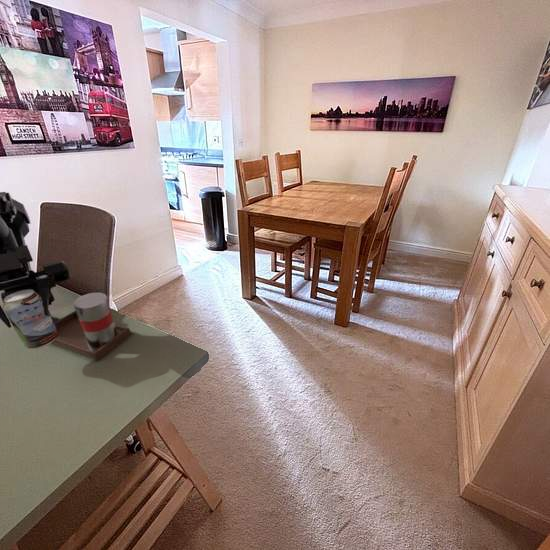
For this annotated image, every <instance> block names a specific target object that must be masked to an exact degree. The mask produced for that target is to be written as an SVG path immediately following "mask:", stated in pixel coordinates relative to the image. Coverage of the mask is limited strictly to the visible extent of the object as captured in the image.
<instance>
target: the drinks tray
mask: <svg viewBox="0 0 550 550" xmlns="http://www.w3.org/2000/svg"><path fill="white" fill-rule="evenodd" d="M114 324H115V328H116V331H117V336H116V337H115V338H114V339H113V340H111V341H110V342H108V343H106V344H105V345H103V346H102V347H101V348H99V349H98V350H92V349H90V348H89V347H88V345H87V342H86V339H85V336H84V333H83V330H82V328H81V325H80V323H79V320H78V316H77V313H76V310H73V311H71V312H70V313H69V314H68V313H67V315H65V316H63V317H61V318H60V319H59V320H58V321H56V322H54V325H55V327H56V329H57V331H58V336H57V337H56V338H55V340H54V341H53V342H52V343H51V345H54V346H56V347H59V348H62V349H65V350H67V351H70V352H73V353H76V354H77V355H78V354H79V355H80V356H83V357H86V358H89V359H91V360H94V361H96V362H97V361H99V360H101V358H103V357H105V356H106V354H108V353H109V352H110V351H112V350H113V349H115V348H116V347H117V346H118V345H119V344H120V343H122V342H124V340H126V339H127V338H128V337H130V336H131V334H132V333H131V330H130V327H127V326H124V325H121V324H119V323H115V322H114Z"/></svg>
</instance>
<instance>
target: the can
mask: <svg viewBox="0 0 550 550" xmlns="http://www.w3.org/2000/svg"><path fill="white" fill-rule="evenodd" d="M73 307H74V311H76V313H77V316H78V320H79V323H80V325H81V328H82V330H83V333H84V336H85V339H86V342H87V345H88V347H89V348H90V349H92V350H98V349H99V348H101V347H102V346H103V345H105V344H106V343H108V342H110V341H111V340H113V339H114V338H115V337H116V336H117V331H116V328H115V324H116V323H115V321H114V317H113V313H112V309H111V307H110V303H109V300H108V296H107V295H106V294H105V293H104V292H90V293H86V294H83V295H81V296H79V297H77V298H76V299H75V300H74V301H73ZM114 323H115V324H114Z"/></svg>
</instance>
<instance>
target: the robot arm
mask: <svg viewBox="0 0 550 550" xmlns="http://www.w3.org/2000/svg"><path fill="white" fill-rule="evenodd" d="M30 219H31V218H30V216H29V214H28V212H27V209H26V207H25V206H24V204H23V203H21V202H20V201H18V200H16V199H14V198H13V197H12V196H11V194H10V192H6V191H0V292H1V293H0V298H1V301H2V303H3V304H4V301H3V299H4V298H5V297H7V296H8V295H10V294H13V293H15V292H18V291H22V290H28V289H32V290H34V292H36V293H38V294H39V295H40V297H41V299H42V302H43V306H44V313H45V315H46V316H48V313H49V315H50V317H51V319H52V321H53V323H54V322H56V321H58V320H60V319H59V318H57V317H54V316H52V315H51V312H50V310H49V306H52V304H53V302H55V296H54V294H53V292H52V288H55V287H57V284H58V283H62V282H66V281H68V280H69V279H71V277H70V270H69V268H68V265H67V264H66V262H64V261H62V260H58V261H53V262H49V263H43V264H42V269H43V270H39V271H34V270H33V269H32V266H31V262H33V261H34V260H33V257H32V254H31V251H30V249H29V247H28V244H26V240H25V237H27V235H28V234H29V233H30V231H31V230H30V226H29V225H30V224H31V220H30ZM0 320H1V322H3V324H4V325H6V326H7V328H8V329H10V328H12V323H11V321H10V320H9V318H8V316H7V314H6V313H5V311H4V309H3V306H2V305H1V304H0Z"/></svg>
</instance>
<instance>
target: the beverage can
mask: <svg viewBox="0 0 550 550" xmlns="http://www.w3.org/2000/svg"><path fill="white" fill-rule="evenodd" d="M3 301H4V303H3V304H2V309H3V311H4V312H5V314H6V316H7V318H8V319H9V321H10V324H11V326H12V327H13V329H14V330H15V332H16V334H17V336H18V337H19V339H20V341H21V343H22V345H23V347H24V348H26V349H32V350H36V349H38V350H39V349H42V348H44V347H47V346H49V345H50V344H52V342H53V341H54V340H55V338H56V337H57V336H58V331H57V329H56V327H55V325H54V323H53V321H52V319H51V317H52V316H51V317H50V315H51V314H50V315H49V313H48V316H46V315H45V313H44V306H43V302H42V299H41V297H40V295H39V294H38V293H36V292H34V290H32V289H28V290H22V291H18V292H15V293H13V294H10V295H8V296H7V297H5V298H4V299H3ZM3 301H2V302H3Z"/></svg>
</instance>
